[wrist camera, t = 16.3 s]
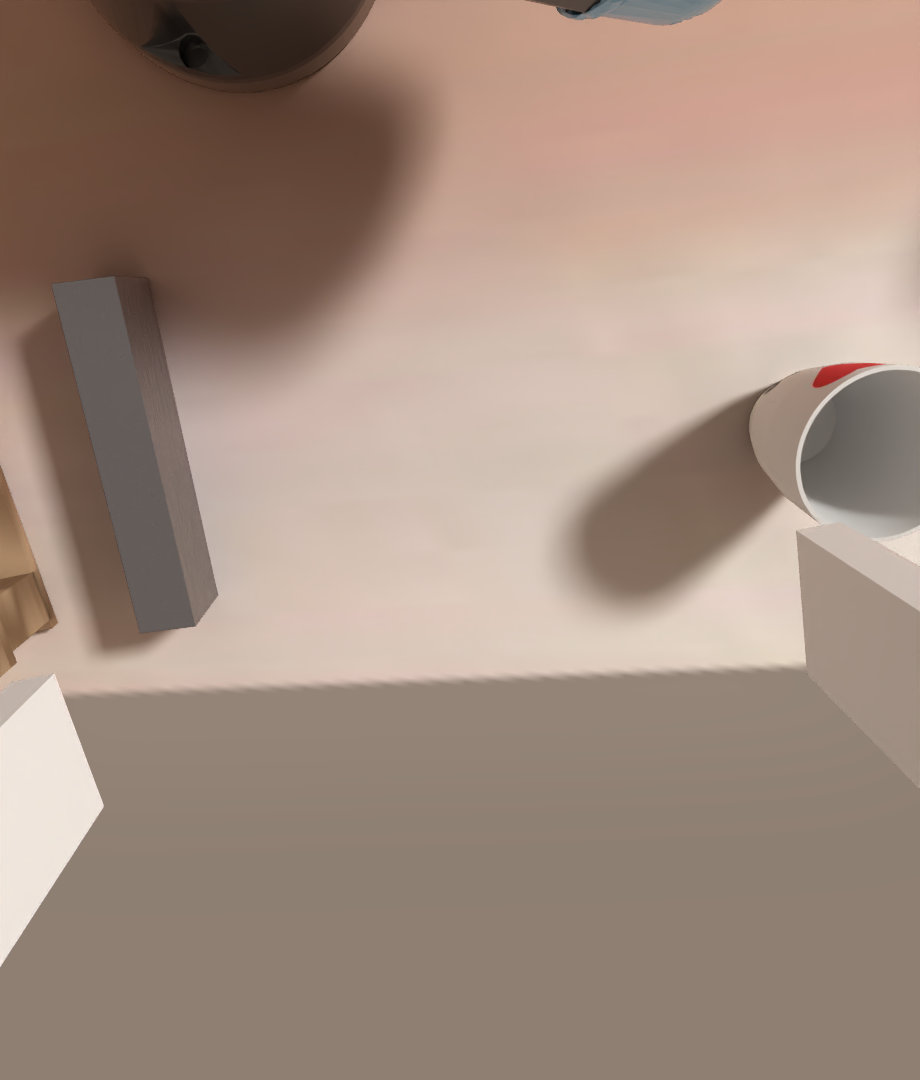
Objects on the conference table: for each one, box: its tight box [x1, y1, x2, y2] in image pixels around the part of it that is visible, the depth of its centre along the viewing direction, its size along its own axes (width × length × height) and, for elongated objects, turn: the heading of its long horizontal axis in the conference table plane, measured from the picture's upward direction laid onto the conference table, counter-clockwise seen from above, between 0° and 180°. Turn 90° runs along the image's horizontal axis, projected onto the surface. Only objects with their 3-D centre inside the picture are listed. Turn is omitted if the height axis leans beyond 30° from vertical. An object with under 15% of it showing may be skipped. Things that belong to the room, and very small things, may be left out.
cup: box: [749, 362, 920, 542], centre depth 42 cm, size 8×8×10 cm
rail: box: [51, 276, 218, 633], centre depth 44 cm, size 18×3×5 cm, turn 7°
